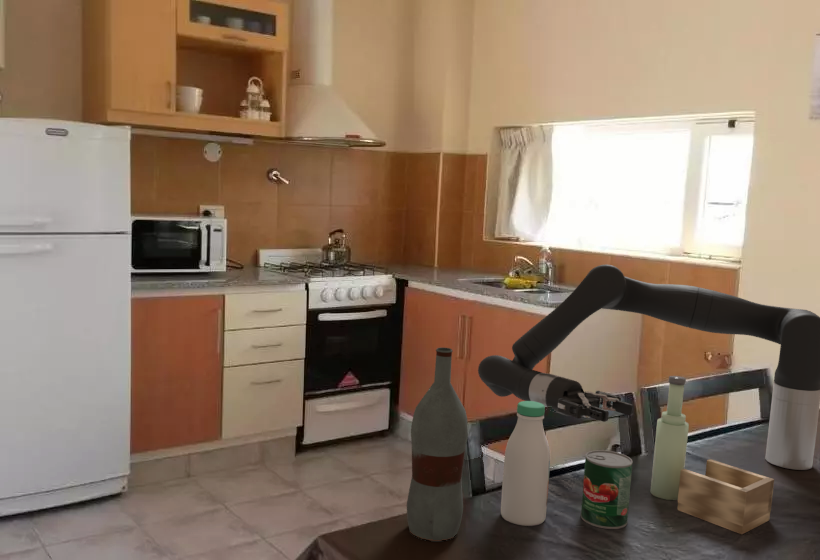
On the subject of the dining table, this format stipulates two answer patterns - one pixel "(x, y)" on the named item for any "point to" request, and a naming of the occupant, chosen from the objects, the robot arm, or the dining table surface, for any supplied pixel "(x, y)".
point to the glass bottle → (670, 444)
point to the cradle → (726, 496)
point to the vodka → (437, 457)
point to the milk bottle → (526, 468)
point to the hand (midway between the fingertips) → (620, 413)
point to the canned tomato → (606, 489)
